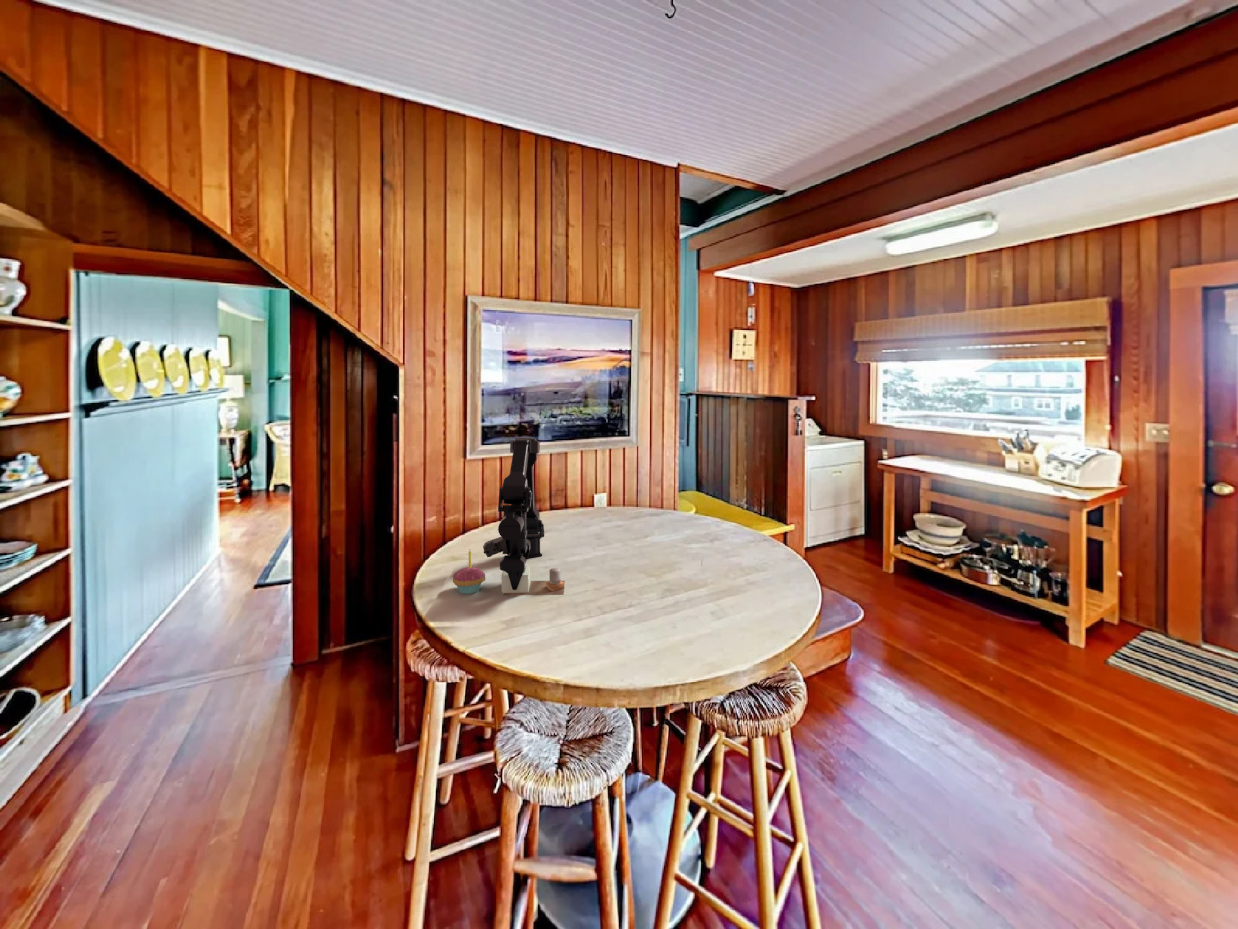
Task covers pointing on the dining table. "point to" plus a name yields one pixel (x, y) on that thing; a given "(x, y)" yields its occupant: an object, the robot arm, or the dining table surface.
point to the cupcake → (468, 578)
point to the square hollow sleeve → (523, 583)
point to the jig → (546, 585)
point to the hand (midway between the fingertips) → (516, 584)
